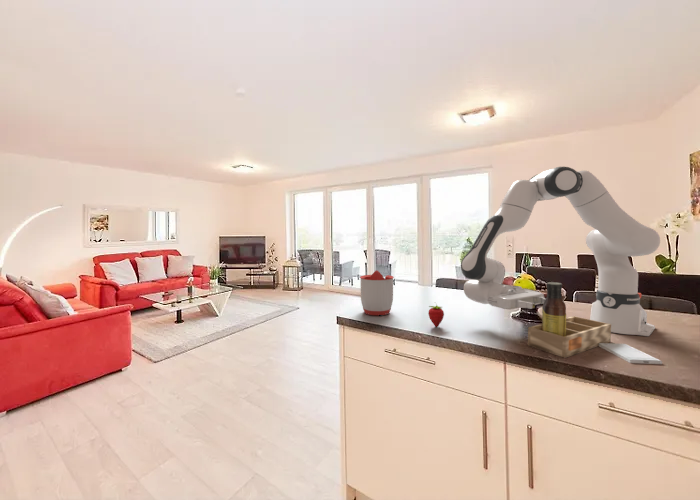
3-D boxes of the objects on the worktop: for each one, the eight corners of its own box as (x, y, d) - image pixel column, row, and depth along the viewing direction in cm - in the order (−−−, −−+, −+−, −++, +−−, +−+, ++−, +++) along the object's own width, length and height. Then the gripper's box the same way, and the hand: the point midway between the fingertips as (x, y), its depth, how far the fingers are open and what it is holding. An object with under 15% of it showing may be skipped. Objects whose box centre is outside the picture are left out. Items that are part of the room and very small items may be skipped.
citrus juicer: (398, 309, 143) (398, 268, 142) (388, 319, 127) (388, 273, 126) (368, 306, 150) (368, 267, 148) (354, 315, 134) (354, 271, 133)
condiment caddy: (573, 332, 109) (573, 316, 109) (612, 342, 99) (613, 324, 98) (527, 345, 97) (528, 327, 96) (566, 358, 86) (567, 338, 86)
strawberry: (428, 329, 113) (428, 303, 113) (428, 323, 121) (428, 299, 120) (444, 330, 112) (444, 304, 111) (443, 324, 119) (443, 300, 118)
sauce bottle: (551, 340, 98) (552, 280, 97) (570, 346, 92) (572, 283, 91) (536, 342, 96) (538, 282, 94) (555, 349, 90) (557, 285, 89)
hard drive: (598, 342, 95) (630, 359, 83) (626, 343, 95) (662, 360, 82) (598, 347, 96) (630, 364, 83) (626, 348, 95) (662, 365, 82)
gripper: (484, 290, 104) (522, 298, 92) (520, 285, 113) (559, 292, 101) (483, 308, 104) (521, 318, 92) (520, 301, 114) (559, 310, 101)
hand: (542, 304), depth 97 cm, fingers open, 8 cm apart
